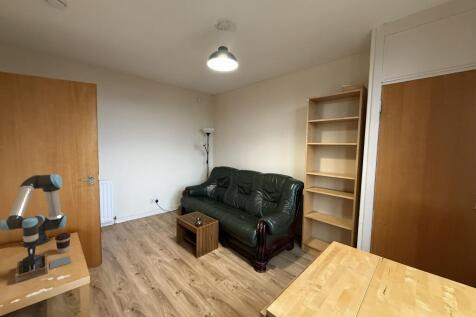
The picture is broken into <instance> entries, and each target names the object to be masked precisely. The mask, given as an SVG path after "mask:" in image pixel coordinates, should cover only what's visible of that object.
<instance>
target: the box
mask: <svg viewBox="0 0 476 317" xmlns="http://www.w3.org/2000/svg"><path fill="white" fill-rule="evenodd" d="M41 255H42V254H35V255H34V263H35V270H36V269H40V268H43V266H42V264H43V263H42V262H41ZM22 260H23V267H22V270H23V273H26V272H30V270H29V266H28V265H29V256H28V255H27V256H26V257H24V258H22ZM23 273H22V274H23Z"/></svg>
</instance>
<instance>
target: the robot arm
mask: <svg viewBox="0 0 476 317" xmlns="http://www.w3.org/2000/svg"><path fill="white" fill-rule="evenodd" d="M62 187H63V179H62V177H61V176H60V174H54V173H53V174H34V175H32V176H29V177H28V178H26V179H24V181H23V182H22V183H20V186H19V187H18V191H19V192H18V194H17V196H16V198H15V201H14V202H13V205H12V207H11V211H10V212H9V215H8V217H7V219H3V220H1V221H0V230H1V231H2V232H3V231H5V232H6V231H13V230H19V229H21V230H22V237H21V239H23V243H22V244H23V248H25V249H26V248H27V256H29V265H28V266H29V270H30V271H33V270H35V263H34V255H36V247H38V246H41V245H44V244H46V243H48V242H49V240H50V238H49V235H48V234H47V231H54V230H61V229H64V228H65V227H66V223H67V219H68V218H67V215H65V213H64V212H62V209H61V200H60V195H59V194H60V193H59V191H60V189H61V188H62ZM40 189H42V192H44V193H45V198H46V206H47V207H46V208H47V214H48V215H47V216H45V215H42V214H37V215H34V216H30V217H29V216H28V217H24V215H25V213H26V210H27V208H28V205H29V202H30V200H31V198H32V195H33V193H34V192H36V190H40Z"/></svg>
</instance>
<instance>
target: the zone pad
mask: <svg viewBox="0 0 476 317" xmlns="http://www.w3.org/2000/svg"><path fill="white" fill-rule="evenodd" d="M69 264H70V265H71V264H72V260H71V257H70V255H67V256H64V257H59V258H57V259H53V260H49V270H53V269H56V268H59V267H63V266H66V265H69Z"/></svg>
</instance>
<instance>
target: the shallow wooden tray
mask: <svg viewBox="0 0 476 317" xmlns="http://www.w3.org/2000/svg"><path fill="white" fill-rule="evenodd" d="M40 255H41V263H42V262H44V267H43V266H42V268H40V269H36V270H33V271H30V272H26V273H21V268H22V269H23V259H22V260H18V261H17V263H16V269H15V270H16V271H15V275H14V279H15V280H14V283H15V284H16V283H17V284H20V283H23V282H26V281H29V280H32V279H35V278H38V277H42V276H44V275H49V271H48V270H49V269H48V268H49V267H48V253H45V254H40Z"/></svg>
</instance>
